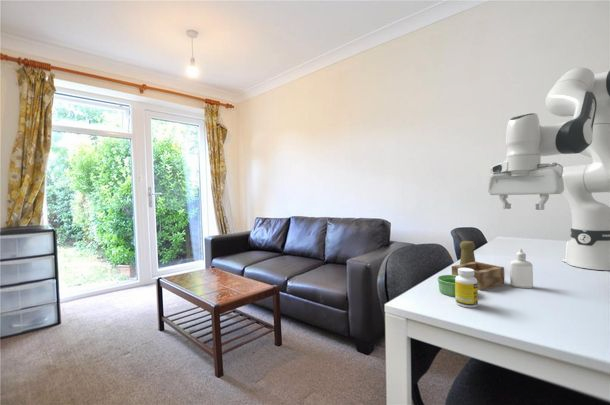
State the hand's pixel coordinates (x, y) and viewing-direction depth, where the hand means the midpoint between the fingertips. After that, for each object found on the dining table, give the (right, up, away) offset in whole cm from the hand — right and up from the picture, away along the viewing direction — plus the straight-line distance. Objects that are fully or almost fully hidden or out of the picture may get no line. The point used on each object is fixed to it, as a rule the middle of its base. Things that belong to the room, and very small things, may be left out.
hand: (522, 209), depth 91 cm
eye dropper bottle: (0, -25, 0) cm, 25 cm away
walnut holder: (-11, -25, +5) cm, 28 cm away
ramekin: (-23, -26, -2) cm, 35 cm away
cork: (-5, -24, +22) cm, 33 cm away
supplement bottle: (-25, -26, -12) cm, 38 cm away
